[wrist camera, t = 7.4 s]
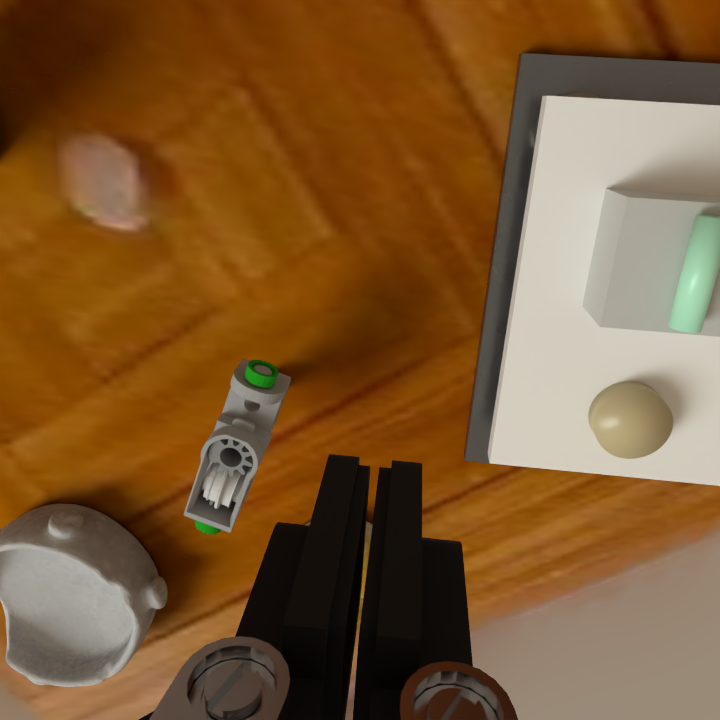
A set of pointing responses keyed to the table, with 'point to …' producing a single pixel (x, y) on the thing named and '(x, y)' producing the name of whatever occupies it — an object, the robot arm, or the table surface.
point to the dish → (74, 595)
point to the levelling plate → (555, 284)
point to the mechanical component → (236, 446)
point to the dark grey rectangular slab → (531, 84)
